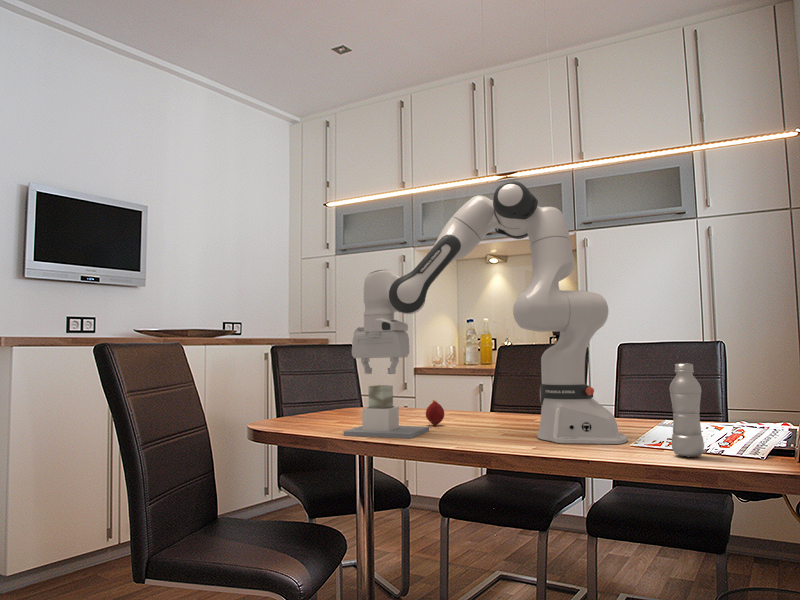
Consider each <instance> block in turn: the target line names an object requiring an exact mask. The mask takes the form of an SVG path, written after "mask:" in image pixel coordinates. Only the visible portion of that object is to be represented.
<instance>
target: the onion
mask: <svg viewBox="0 0 800 600" xmlns="http://www.w3.org/2000/svg"><path fill="white" fill-rule="evenodd" d="M425 410H426V411H425V417H426V420H427V421H428V422H429V423H431V425H432V426H433V427H436V426H437V425H439V424H440V423H442V421H443V420H444V418H445V410H444V407H443V406H442V404H440V403H439V402H438V401H437V400H435V399H433V400H432V402H431V403H430V404H429V405H428V406H427V407H426V409H425Z"/></svg>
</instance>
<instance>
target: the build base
mask: <svg viewBox="0 0 800 600" xmlns="http://www.w3.org/2000/svg"><path fill="white" fill-rule="evenodd" d="M361 413H362V414H361V416H362V421H361V422H362V423H361V424H362V425H360V426H357V427H354V428H353V427H352V428H350V429H346V430H344V431H343V436H344V437H364V438H365V437H366V438H385V439H387V438H389V439H390V438H391V439H414V438H415V437H419V436H420V435H424V434H426V433H427V432H430V426H419V425H418V426H417V425H400V421H399V420H400V410H399V406H394V405H393V407H387V408H373V407H369V406H367V407H364V408H363V407H362V409H361Z"/></svg>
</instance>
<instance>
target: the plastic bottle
mask: <svg viewBox="0 0 800 600" xmlns="http://www.w3.org/2000/svg"><path fill="white" fill-rule="evenodd" d="M674 373H676V375H675V376H674V377H673V379H672V381H671V383H670V384H669V394H670V395H669V396H670V400H671V406H672V413H673V414H672V416H673V418H672V419H673V423H672V436H671V442H670V443H671V449H672V452H673V453H674V455H678V456H680V457H684V456H689V457H688V458H693V457H692V456H696V457H700V456H702V454H703V453H704V450H705V443H704V438H703V435H702V427H701V418H700V417H701V416H700V412H701V410H700V409H701V397H702V386H701V383H699V381H698V379H697V378H696V377H695V376H694V375H693V373H695V371H694V364H693V363H674Z"/></svg>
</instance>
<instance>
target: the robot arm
mask: <svg viewBox="0 0 800 600" xmlns="http://www.w3.org/2000/svg"><path fill="white" fill-rule="evenodd" d="M538 204H539V200H538V199H537V197H536V196H535V195H534V194H533V193H532V192H531V191H530V190H529V189H528V187H526V185H524V184H523V183H521V182H519V181H516V180H508V181H505V182H503V183H501V184H500V185H498V187H497V188H496V189H495V191H494V193H493V198H492V199H490V198H488V197H487V196H484V195H475V196H473V197H471V198H470V199H469V200H467V201H466V202H465V203H464V204H463V205H462V206H461V207H459V209H458V210H457V211H456V212H455V213H454V214H453V215H452V216H451V217H450V218H449V220H448V221H447V222H446V224H445V225H444V227H443V228H442V230H441V231H440V233H439V235H438V237H437V239H436V241H435V243H434V244H433V247H432V248H431V249H430V250H429V251H428V253H427V254H426V255H425V256H424V257H423V258H422V259H421V261H420V262H419V263H418V264H417V266H415V268H414V269H413V270H411V271H410V272H408V273H407V274H405V275H404V274H403V276H399V275H397V274H396V273H394V272H392V271H391V270H390V269H379V270H374V271H371V272H369V273H368V274H367V275H366V276H365V278H364V283H363V303H364V312H363V326H362V327H360V326H359V327H357V328H356V329H355V330H354V331H353V337H352V344H351V345H352V346H351V356H352V358H353V359H360V363H361V364H362V367H363V368H364V369H363V371H364V372H363V373H364V375H371V374H372V373H373V368H372V367H371V366H370V359H382V358H383V359H384V358H387V359H388V358H389V362H391V363H390V365H389V367H387V374H388V375H395V374H396V371H397V370H396V369H397V367H398V364H399V362H400V360H399V358H407V357H408V356H409V354H410V339H409V334H408V332H407V331H408V329H409V324H407V323H406V322H402V321H399V320H397V319H395V313H397V312H398V313H401V314H405V315H413V314H417V313H419V312H420V311H421V310H422V309H423V307H424V306H425V304H426V298H427V293H428V290H429V289H430V287H431V285H432V284H433V283H434V281H435V280H436V279H438V277H439V276H440V274H442V272H443V271H444V270H445V268H447V267H448V266H449V265H450V264H451V263H453V262H454V261H456V260H459V259H463V258H465V257H466V256H468V254H470V253H471V252H472V251H473V250H475V248H476V247H478V246H479V244H480V243H481V242H482V240H483V239H484V238H485V237H486V235H487V234H488V233H489V232H490V231H492V230H495V233H497V234H500V235H504V236H506V237H509V238H511V239H514V240H521V239H525V238H527V237H528V241H529V248H530V249H529V250H530V256H531V267H532V275H531V279H530V282H529V284H528V286H527V287H526V288H525V290H523V292H521V293H520V294H519V295H518V296H517V297H516V299H515V301H514V304H513V309H512V313H513V318H514V320H515V322H516V324H517V325H518V327H520V328H521V329H523V330H528V331H533V332H537V333H539V332H540V333H542V332H547V333H548V332H551V333H552V332H554V333H555V332H559V338H558V340H557V342H556V343H555V344H554V345H551V346H549V347H548V348H547V349H546V350H545V351H544V352H543V353H542V355H541V357H540V359H541V360H540V366H541V367H540V368H541V372H540V373H541V384H540V385H539V401H540V405H541V410H540V411H541V412H540V420H539V421H540V422H539V427H538V432H537V435H536V437H537V439H540V440H544V441H550V442H553V443H557V444H587V445H588V444H589V445H590V444H596V445H597V444H599V445H600V444H601V445H621V444H626V443H627V442H628V436H627V435H626V434H624V433H621V432H619V427H618V423H617V419H616V417H615V416H614V414H613V413H612V412H611V411H609V410H608V409H607V408H606V407H604V406H603V405H602V404H601V403H599V402H597V401H596V400H595V399H594V393H595V389H594V387H592V386H590V385H588V384H586V382H585V381H586V379H585V377H586V376H585V373H586V372H585V370H586V368H585V364H586V353H587V350H588V346H589V344H590V342H591V339H592V338H593V336H594V335H595V334H596V332H598V330H600V329H601V328H603V326H604V325H605V324H606V322H607V320H608V318H609V305H608V302H607V301H606V298H604V296H603V295H602V294H600V293H596V292H593V291H588V290H561V289H560V286H559V285H560V284H559V282H561V281H563V280H564V279H566V278H568V277H569V276H570V275H571V274H572V273H573V271H574V268H575V258H574V254H573V246H572V240H571V236H570V232H569V228H568V225H567V222H566V220H565V217H564V215H563V212H562V211H561V210H560V209H558V208H557V207H554V206H539V205H538Z"/></svg>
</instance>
